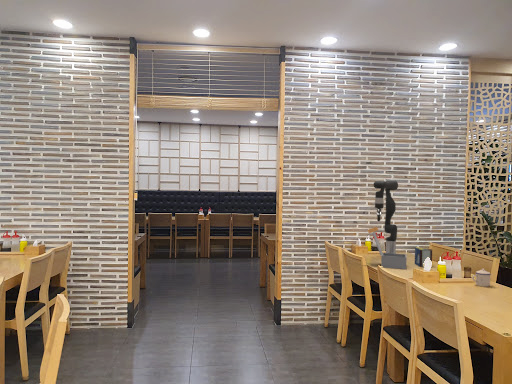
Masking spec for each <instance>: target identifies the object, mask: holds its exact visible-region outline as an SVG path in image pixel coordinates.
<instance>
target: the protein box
mask: <svg viewBox="0 0 512 384" xmlns="http://www.w3.org/2000/svg"><path fill="white" fill-rule="evenodd" d="M427 257H429V258H430V260H431V261H432V262H433V249H432V248H429V247H426V246H425V247H424V246H415V247H414V265H416V266H417V267H418V268H419V267H420V268H424V267H423V263H424V261H425V259H426V258H427Z"/></svg>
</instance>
